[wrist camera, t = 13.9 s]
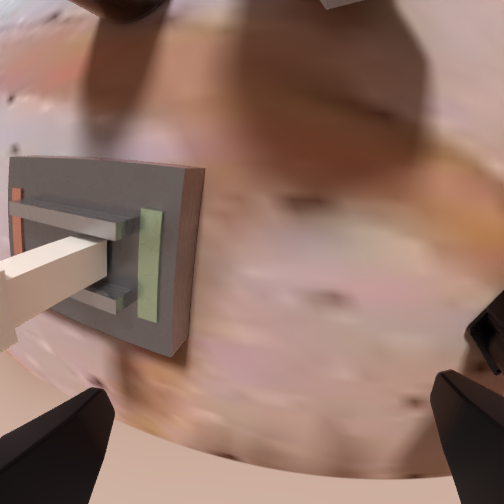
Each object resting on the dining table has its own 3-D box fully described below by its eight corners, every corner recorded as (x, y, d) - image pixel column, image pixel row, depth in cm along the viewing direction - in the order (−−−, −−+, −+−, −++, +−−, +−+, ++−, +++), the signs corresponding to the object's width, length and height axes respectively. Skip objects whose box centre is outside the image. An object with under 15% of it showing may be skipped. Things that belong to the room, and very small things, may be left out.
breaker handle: (109, 231, 17) (-24, 281, 8) (109, 285, 18) (-5, 356, 9) (78, 223, 18) (-47, 265, 9) (79, 275, 19) (-31, 333, 10)
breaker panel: (205, 168, 19) (169, 168, 14) (188, 336, 22) (159, 372, 17) (34, 155, 21) (-7, 158, 17) (36, 280, 25) (1, 297, 20)
